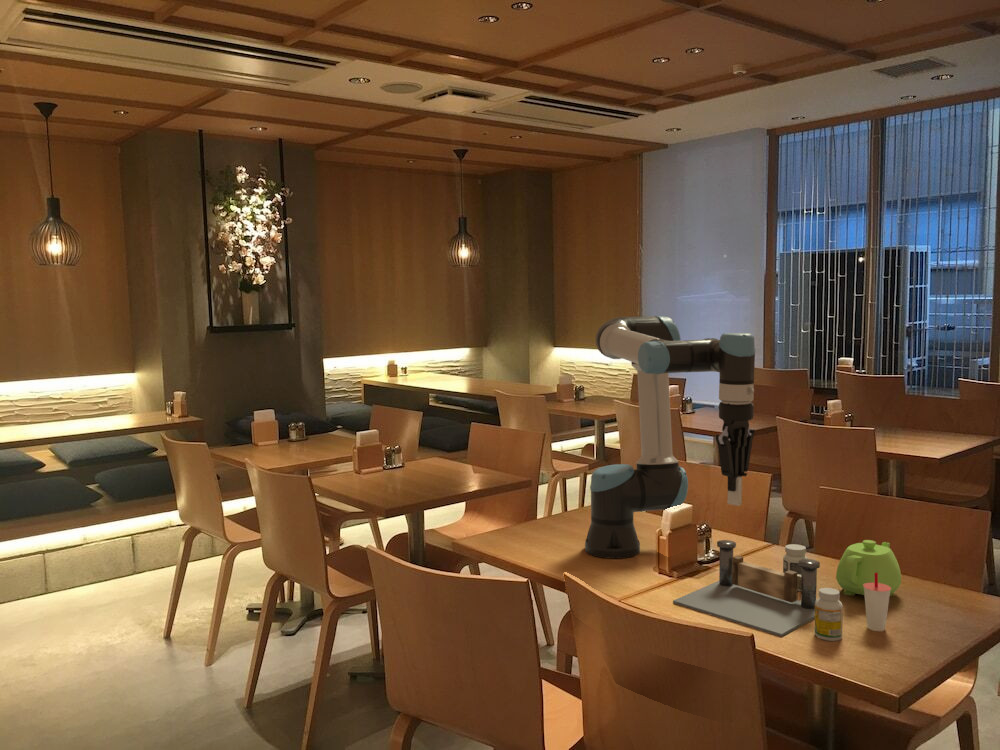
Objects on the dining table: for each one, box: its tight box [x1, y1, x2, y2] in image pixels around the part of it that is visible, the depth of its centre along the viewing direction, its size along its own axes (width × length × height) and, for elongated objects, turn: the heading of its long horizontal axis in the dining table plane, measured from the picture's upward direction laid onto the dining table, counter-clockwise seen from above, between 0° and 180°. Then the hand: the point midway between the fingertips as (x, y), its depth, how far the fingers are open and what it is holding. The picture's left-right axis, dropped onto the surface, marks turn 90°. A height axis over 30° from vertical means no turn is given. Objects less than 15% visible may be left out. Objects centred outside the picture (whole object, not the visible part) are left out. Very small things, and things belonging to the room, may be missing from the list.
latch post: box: [797, 558, 821, 609], centre depth 187 cm, size 6×5×11 cm
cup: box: [863, 573, 891, 632], centre depth 175 cm, size 5×5×12 cm
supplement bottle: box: [814, 587, 844, 642], centre depth 172 cm, size 5×5×10 cm
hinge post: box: [716, 539, 737, 586], centre depth 202 cm, size 4×4×11 cm
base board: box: [672, 580, 815, 638], centre depth 189 cm, size 27×20×1 cm
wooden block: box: [732, 555, 798, 602], centre depth 193 cm, size 16×2×6 cm, turn 38°
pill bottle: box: [782, 543, 809, 592], centre depth 200 cm, size 6×6×10 cm
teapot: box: [835, 539, 902, 597], centre depth 195 cm, size 20×13×13 cm
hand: (734, 504), depth 191 cm, fingers closed
